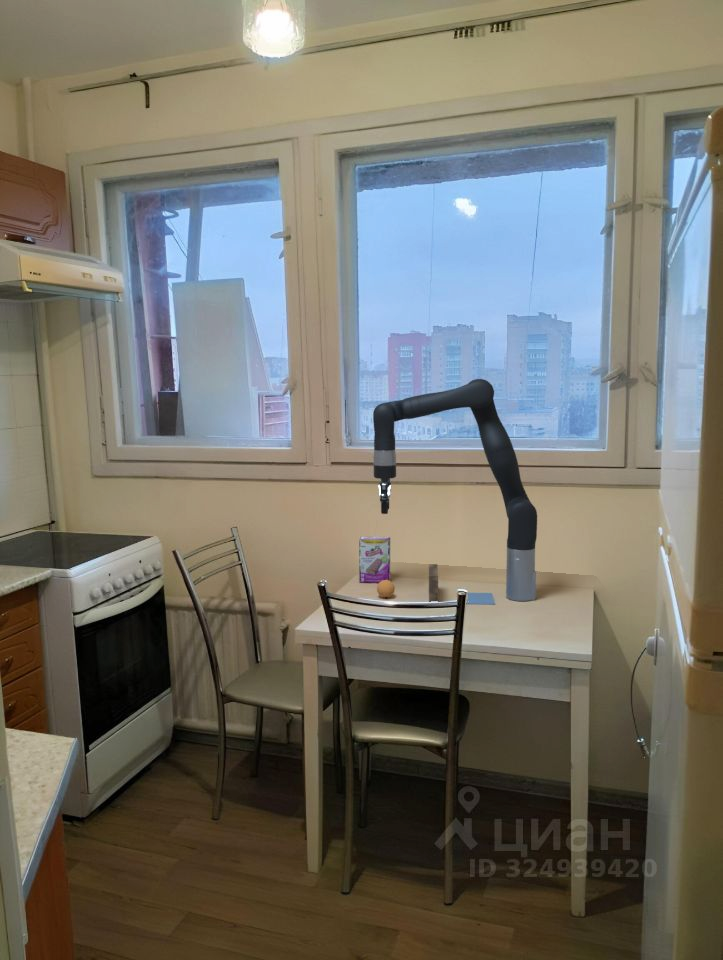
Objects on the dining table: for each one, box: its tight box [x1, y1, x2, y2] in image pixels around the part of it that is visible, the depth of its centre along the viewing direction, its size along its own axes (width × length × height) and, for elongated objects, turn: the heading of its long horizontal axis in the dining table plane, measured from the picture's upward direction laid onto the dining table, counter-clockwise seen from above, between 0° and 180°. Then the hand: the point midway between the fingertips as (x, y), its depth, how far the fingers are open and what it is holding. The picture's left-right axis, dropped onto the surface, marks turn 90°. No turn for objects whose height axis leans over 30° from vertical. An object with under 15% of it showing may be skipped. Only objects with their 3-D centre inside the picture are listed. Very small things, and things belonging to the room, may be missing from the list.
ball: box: [376, 580, 396, 599], centre depth 238 cm, size 6×6×6 cm
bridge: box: [428, 563, 439, 603], centre depth 237 cm, size 3×15×10 cm, turn 175°
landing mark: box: [466, 592, 496, 605], centre depth 236 cm, size 12×12×1 cm
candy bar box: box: [358, 536, 391, 584], centre depth 257 cm, size 11×5×16 cm, turn 84°
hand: (385, 511), depth 237 cm, fingers open, 8 cm apart
